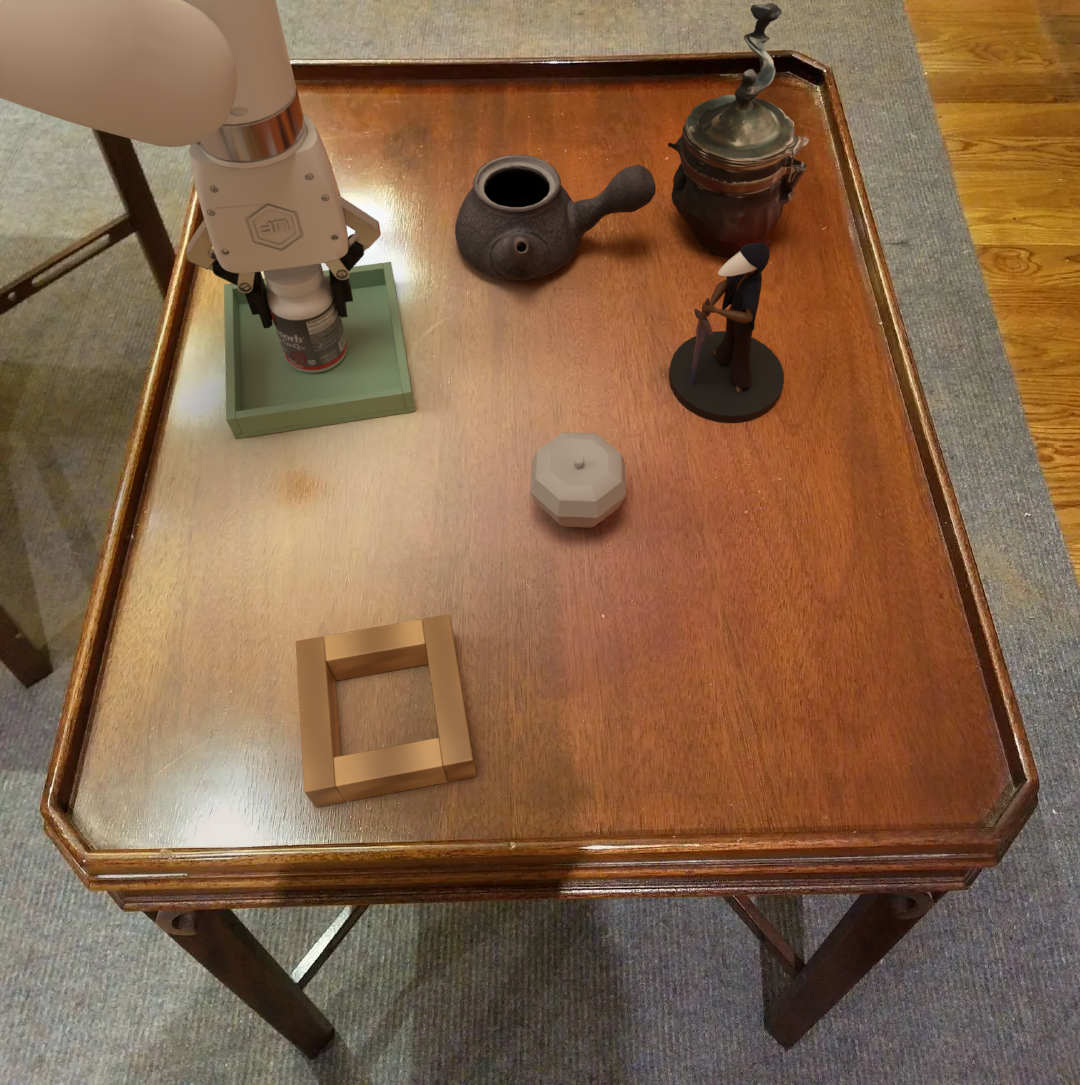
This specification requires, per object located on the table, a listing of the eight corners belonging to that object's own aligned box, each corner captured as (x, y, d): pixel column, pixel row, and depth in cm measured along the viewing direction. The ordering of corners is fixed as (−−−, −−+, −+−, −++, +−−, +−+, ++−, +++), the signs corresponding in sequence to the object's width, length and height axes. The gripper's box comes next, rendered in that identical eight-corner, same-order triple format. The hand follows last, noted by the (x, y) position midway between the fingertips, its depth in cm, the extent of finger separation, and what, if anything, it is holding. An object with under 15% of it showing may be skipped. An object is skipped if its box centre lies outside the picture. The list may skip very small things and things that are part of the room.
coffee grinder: (779, 176, 97) (822, 1, 82) (787, 272, 89) (836, 98, 74) (659, 170, 98) (680, -5, 82) (656, 265, 90) (678, 91, 75)
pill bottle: (272, 353, 83) (241, 267, 75) (320, 320, 85) (296, 233, 77) (313, 385, 81) (286, 300, 72) (361, 351, 83) (340, 264, 75)
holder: (315, 807, 62) (304, 792, 59) (306, 661, 67) (295, 640, 64) (476, 776, 63) (473, 760, 60) (453, 635, 68) (449, 613, 66)
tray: (235, 439, 79) (226, 419, 76) (231, 305, 87) (223, 284, 85) (415, 411, 80) (411, 391, 78) (394, 282, 89) (390, 261, 87)
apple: (640, 488, 76) (647, 438, 70) (603, 562, 72) (608, 516, 66) (552, 456, 77) (552, 405, 72) (511, 527, 74) (508, 479, 68)
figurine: (650, 354, 83) (669, 218, 71) (750, 326, 85) (785, 189, 73) (698, 435, 78) (727, 304, 66) (802, 404, 80) (850, 271, 68)
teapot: (456, 314, 86) (446, 227, 78) (456, 207, 95) (448, 118, 86) (655, 307, 87) (667, 220, 78) (638, 202, 95) (647, 112, 86)
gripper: (118, 166, 61) (203, 357, 76) (376, 135, 62) (409, 328, 78) (123, 101, 65) (204, 295, 80) (366, 73, 66) (399, 268, 82)
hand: (304, 309), depth 79 cm, fingers closed on pill bottle, 5 cm apart
